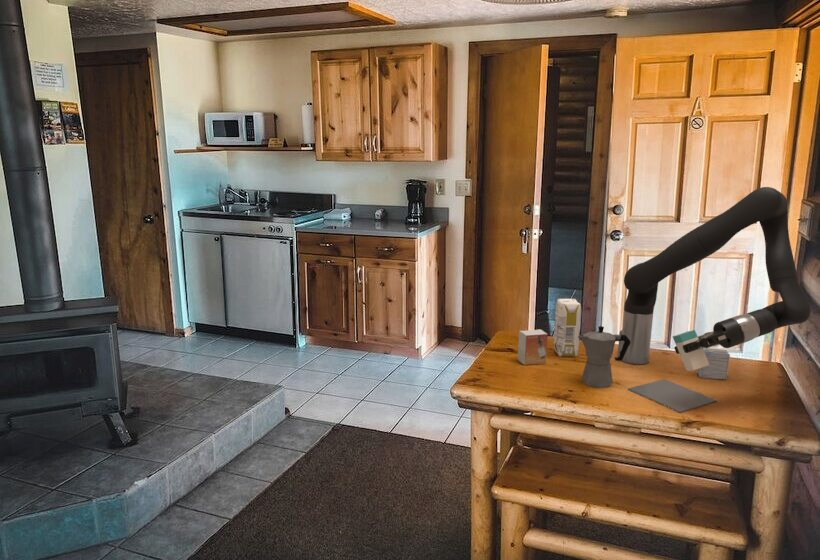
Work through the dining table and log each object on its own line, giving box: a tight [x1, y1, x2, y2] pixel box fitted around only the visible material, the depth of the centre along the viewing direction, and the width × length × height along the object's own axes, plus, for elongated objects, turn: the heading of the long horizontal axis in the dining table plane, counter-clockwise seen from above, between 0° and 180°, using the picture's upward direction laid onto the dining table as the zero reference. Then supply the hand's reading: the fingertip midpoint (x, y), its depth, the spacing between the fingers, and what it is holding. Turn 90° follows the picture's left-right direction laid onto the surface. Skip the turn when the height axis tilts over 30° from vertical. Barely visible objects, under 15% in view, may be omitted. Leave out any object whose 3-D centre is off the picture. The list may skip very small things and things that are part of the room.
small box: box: [517, 328, 549, 366], centre depth 201 cm, size 8×6×10 cm
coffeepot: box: [578, 325, 630, 389], centre depth 183 cm, size 15×9×18 cm, turn 82°
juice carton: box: [553, 298, 582, 358], centre depth 209 cm, size 8×9×19 cm
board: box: [627, 378, 718, 414], centre depth 176 cm, size 18×16×1 cm
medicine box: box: [696, 348, 731, 381], centre depth 190 cm, size 8×4×9 cm, turn 74°
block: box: [672, 329, 709, 372], centre depth 166 cm, size 4×4×10 cm
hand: (680, 349), depth 166 cm, fingers closed on block, 4 cm apart
